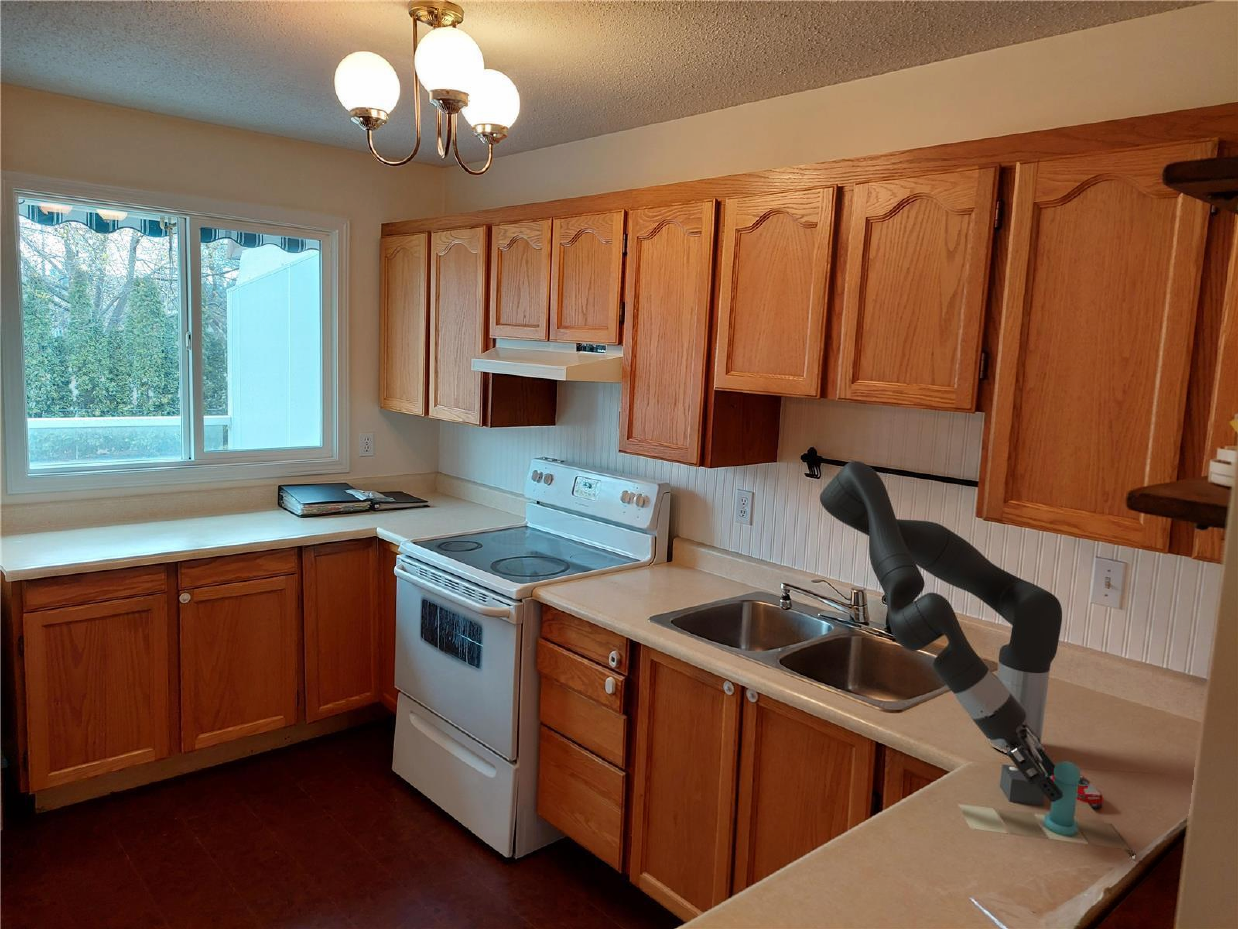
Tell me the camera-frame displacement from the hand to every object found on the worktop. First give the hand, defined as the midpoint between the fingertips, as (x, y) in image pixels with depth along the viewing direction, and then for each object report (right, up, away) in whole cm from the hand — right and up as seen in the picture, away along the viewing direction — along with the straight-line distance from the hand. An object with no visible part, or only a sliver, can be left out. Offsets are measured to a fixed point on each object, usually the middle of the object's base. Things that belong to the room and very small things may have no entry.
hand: (1055, 786), depth 137 cm
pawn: (+1, -7, 0) cm, 7 cm away
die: (-1, -7, +10) cm, 12 cm away
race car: (+10, -7, +15) cm, 20 cm away
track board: (-3, -8, 0) cm, 8 cm away
